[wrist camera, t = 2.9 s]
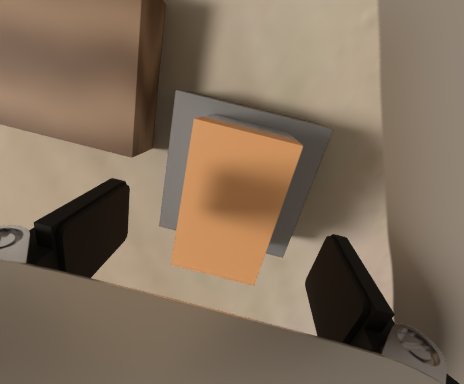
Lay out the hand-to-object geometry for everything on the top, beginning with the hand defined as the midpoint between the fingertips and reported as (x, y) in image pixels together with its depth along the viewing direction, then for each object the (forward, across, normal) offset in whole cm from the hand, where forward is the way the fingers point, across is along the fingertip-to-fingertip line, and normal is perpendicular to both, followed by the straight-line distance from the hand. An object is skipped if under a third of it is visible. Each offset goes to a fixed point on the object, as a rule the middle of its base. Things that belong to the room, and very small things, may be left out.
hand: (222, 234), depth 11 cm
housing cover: (+5, 0, +1) cm, 5 cm away
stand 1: (+13, +15, -5) cm, 21 cm away
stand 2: (+13, 0, +1) cm, 13 cm away
